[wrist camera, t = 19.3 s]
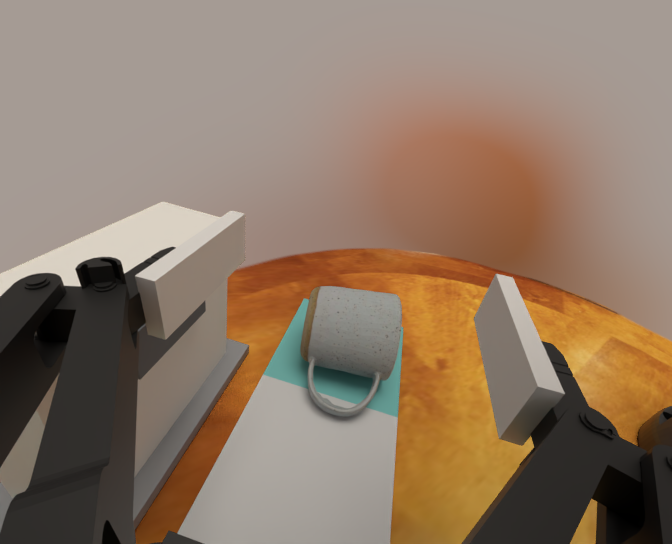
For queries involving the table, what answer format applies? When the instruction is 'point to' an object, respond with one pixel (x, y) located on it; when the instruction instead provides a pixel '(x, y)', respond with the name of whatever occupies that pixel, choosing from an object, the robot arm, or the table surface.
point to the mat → (303, 460)
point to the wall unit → (143, 355)
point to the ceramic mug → (351, 338)
